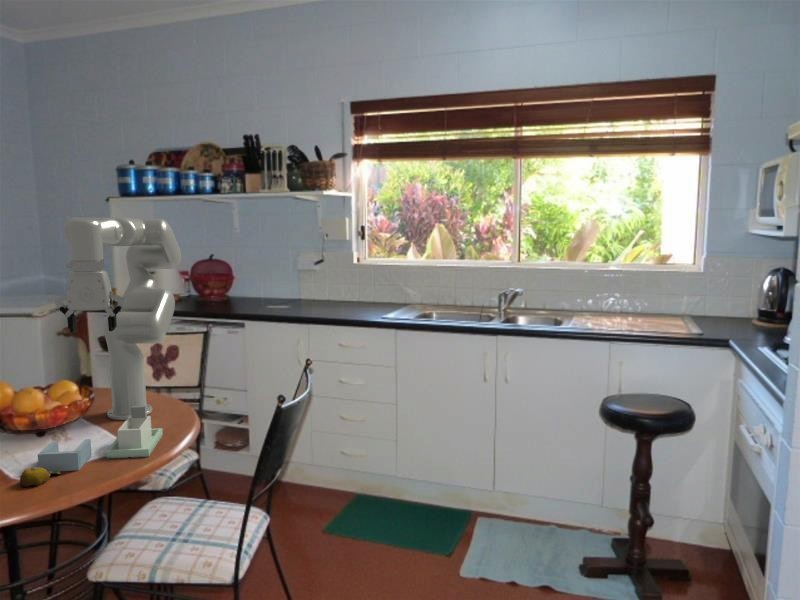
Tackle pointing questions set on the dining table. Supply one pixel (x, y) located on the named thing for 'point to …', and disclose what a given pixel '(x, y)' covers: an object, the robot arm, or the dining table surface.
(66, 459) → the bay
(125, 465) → the dining table surface
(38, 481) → the fruit
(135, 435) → the box
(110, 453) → the tray
